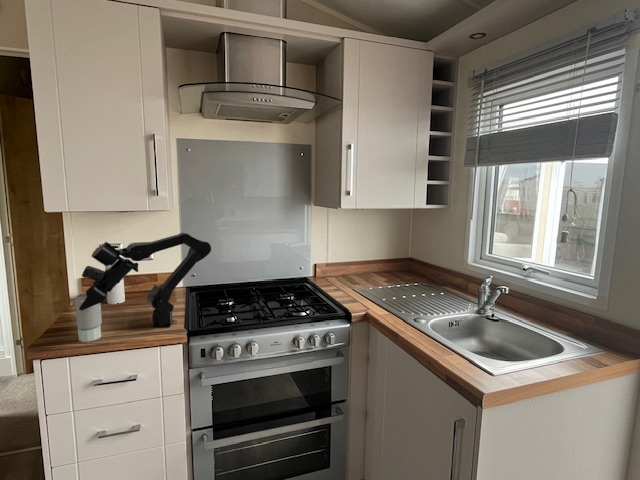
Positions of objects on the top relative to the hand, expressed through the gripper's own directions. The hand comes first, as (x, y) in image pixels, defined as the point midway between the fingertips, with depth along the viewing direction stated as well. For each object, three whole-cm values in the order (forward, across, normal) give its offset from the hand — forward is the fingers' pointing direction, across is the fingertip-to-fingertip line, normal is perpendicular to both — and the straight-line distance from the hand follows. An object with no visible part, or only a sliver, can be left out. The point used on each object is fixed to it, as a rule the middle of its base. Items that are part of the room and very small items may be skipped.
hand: (83, 305), depth 128 cm
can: (+5, 0, +7) cm, 8 cm away
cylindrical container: (+6, -43, +12) cm, 45 cm away
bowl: (+8, 0, +10) cm, 12 cm away
